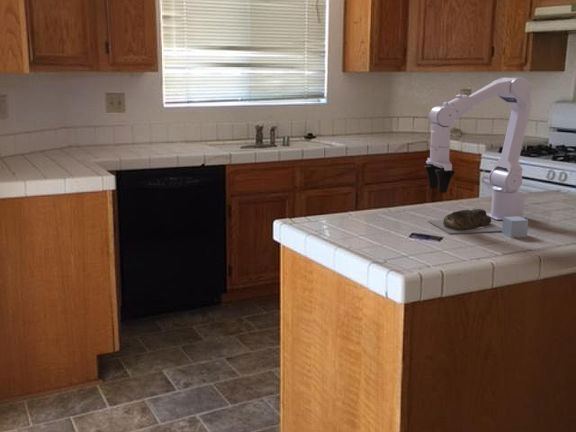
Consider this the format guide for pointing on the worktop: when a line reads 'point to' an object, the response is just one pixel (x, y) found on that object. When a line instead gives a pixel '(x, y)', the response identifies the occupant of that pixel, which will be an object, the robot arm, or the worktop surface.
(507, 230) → the gray cube
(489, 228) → the letter board
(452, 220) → the rock
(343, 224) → the worktop surface
